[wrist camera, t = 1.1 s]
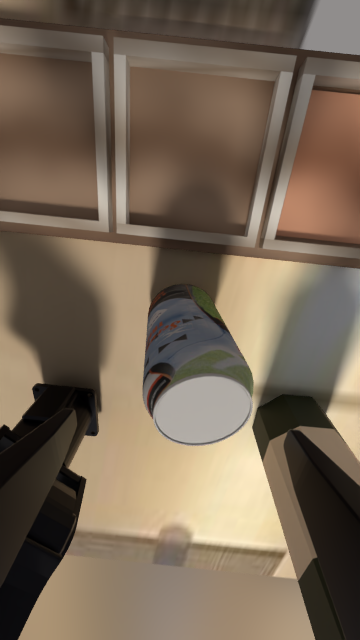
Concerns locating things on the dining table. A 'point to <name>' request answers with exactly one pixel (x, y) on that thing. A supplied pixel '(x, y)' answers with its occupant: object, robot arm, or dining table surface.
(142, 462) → the dining table surface
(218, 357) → the beverage can
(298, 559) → the wine bottle
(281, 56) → the board
